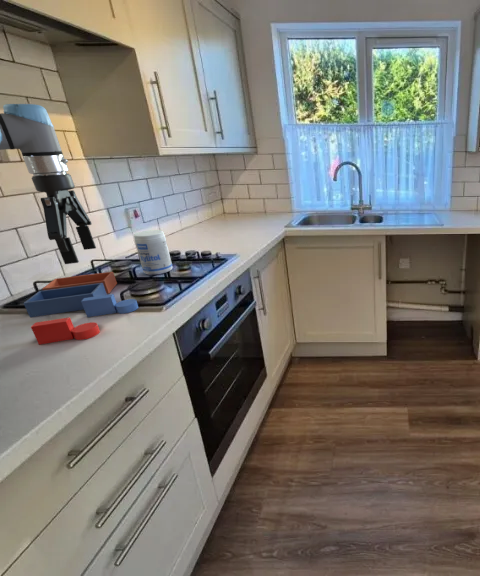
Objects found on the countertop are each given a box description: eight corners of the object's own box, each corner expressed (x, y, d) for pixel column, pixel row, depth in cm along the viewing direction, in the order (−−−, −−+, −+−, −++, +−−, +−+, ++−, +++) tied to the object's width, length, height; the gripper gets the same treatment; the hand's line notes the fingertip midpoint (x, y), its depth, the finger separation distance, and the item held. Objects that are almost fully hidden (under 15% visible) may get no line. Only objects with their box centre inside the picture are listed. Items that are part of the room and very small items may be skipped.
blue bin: (29, 317, 102) (23, 303, 100) (44, 304, 110) (39, 291, 108) (97, 307, 107) (92, 293, 105) (107, 295, 115) (102, 282, 113)
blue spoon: (85, 319, 100) (79, 303, 98) (92, 311, 105) (86, 296, 103) (136, 311, 104) (130, 295, 102) (140, 304, 108) (135, 289, 106)
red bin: (47, 302, 112) (41, 288, 110) (60, 291, 119) (55, 278, 118) (109, 293, 117) (104, 280, 115) (117, 283, 125) (113, 271, 123)
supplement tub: (142, 277, 130) (130, 237, 124) (145, 269, 137) (134, 231, 132) (173, 272, 133) (162, 233, 128) (174, 265, 141) (164, 228, 136)
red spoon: (36, 347, 87) (27, 329, 85) (45, 337, 91) (38, 319, 89) (96, 337, 91) (89, 319, 89) (102, 328, 95) (96, 311, 93)
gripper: (46, 177, 80) (81, 267, 88) (86, 169, 101) (111, 242, 110) (3, 180, 77) (43, 272, 86) (53, 170, 99) (81, 245, 107)
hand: (81, 255), depth 98 cm, fingers open, 13 cm apart
